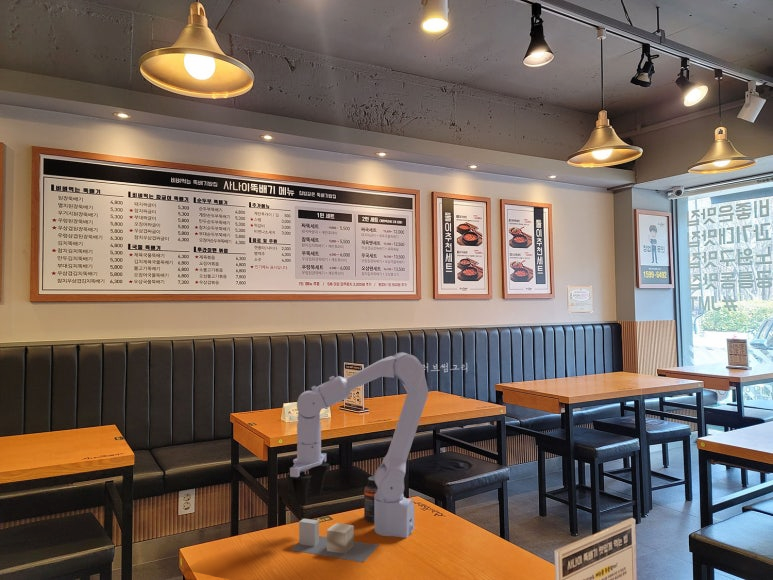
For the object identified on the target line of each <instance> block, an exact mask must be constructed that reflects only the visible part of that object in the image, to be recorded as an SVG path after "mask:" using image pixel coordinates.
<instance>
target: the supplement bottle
mask: <svg viewBox="0 0 773 580" xmlns="http://www.w3.org/2000/svg"><path fill="white" fill-rule="evenodd" d="M377 489H378V487H377V485H376V484H375V481H374V475H372V476H369V477H367V485H365V487H364V491H363V492H364V493H363V494H364V496H363V498H364V499H363V500H364V501H363V505H364V506H363V507H364V508H363V511H364V512H363V513H364V514H363V515H364V519H363V520H364V521H366V522H368V523H374V495H375V493H376V492H377ZM374 524H375V523H374Z"/></svg>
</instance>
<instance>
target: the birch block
mask: <svg viewBox="0 0 773 580" xmlns="http://www.w3.org/2000/svg"><path fill="white" fill-rule="evenodd" d="M354 530H355V526H354V525H352V524H345V523H340V522H336V523H334V524H333V525H332V526H330V527H328V528H327V529H326V537H327V551H329V552H336V553H342V554H346V553H347V552H348V551H349V550H350V549H351V548H352V547H353V546H354V540H355V535H354V534H355V533H354V532H355V531H354Z"/></svg>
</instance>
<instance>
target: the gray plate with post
mask: <svg viewBox="0 0 773 580" xmlns="http://www.w3.org/2000/svg"><path fill="white" fill-rule="evenodd" d="M319 521H320V520H316V519H310V518H302V519H301V520H299V522H298V523H299V525H298V529H299V531H298V532H299V534H298V536H299V537H298V538H299V539H298V541H299V542H297V543H296V544H295V545H293V546H292V547H291V548H289V551H293V552H298V553H305V554H310V555H311V554H312V555H316V556H324V557H329V558H335V559H340V560H345V561H353V562H359V563H364V562H365V561H366V560H367V559H368V558H369V557H370V556H371V555H372V553H374V552H375V550H376V549H377V548H378V547H379V546H380V544H373V543H367V542H360V541H354V546H353V547H352V548H351V549H350V550H349V551H348V552H347V553H346V554H342V553H336V552H329V551H327V536H321V535H320V522H319Z"/></svg>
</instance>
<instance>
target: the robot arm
mask: <svg viewBox="0 0 773 580" xmlns="http://www.w3.org/2000/svg"><path fill="white" fill-rule="evenodd" d="M381 377H382V378H383V377H384V378H393V379H394V378H395V377H396V378H397V379H398V380H399V381H400V382H401V384H402V386H403V388H404V389H405V391H406V396H405V399H404V402H403V405H402V407H401V411H400V415H399V416H398V417H399V418H398V420H397V423H396V426H395V430H394V432H393V436H392V439H391V440H390V441H391V442H390V444H389V447H388V450H387V453H386V455H385V456H384V457H383V459H382V462H381V464H380V465H379V467H378V468H377V469H376V470H375V472H374V474H373V476H374V481H375V484H376V485H377V487H378V489H377V492H376V493H375V495H374V533H375V534H377V535H379V536H385V537H399V538H404V539H407V538H408V537H409V536H410V535H411V534H412V533H413V531H414V530H415V504H414V501H413V499H410V498H406V496H404V491H405V476H406V472H407V470H406V469H407V461H408V457H409V454H410V451H411V447H412V444H413V441H414V438H415V436H416V433H417V429H418V427H419V423H420V420H421V418H422V414H423V411H424V408H425V404H426V403H427V400H428V396H429V388H428V384H427V380H426V374H425V368H424V366H423V364H422V363H421V362H420V360H419V359H418V358H417V356H415V355H413V354H409V353H407V352H403V351H402V352H397V353H395V354H394V355H390V356H386V357H384V358H382V359H379V360H377V361H376V362H374V363H371V364H370V365H368V366H366V367H364V368H363V369H360V370H358V371H356V372H355V373H353V374H351V375H350V376H347V377H343V376H340V375H337V376H336V377H335V376H334V375H332V376H330V377H329V378H328V379H329V380H328V381H326V382H323V383H321V384H320V385H318V386H316V385H313V386H311V390H305V391H303V392H302V393H300V394H299V396H298V398H297V402H296V409H297V412H298V414H297V423H296V445H297V446H296V452H297V453H296V458H294V459H293V460H292V462H293V466H291V467H289V473H287V475H286V480H287V481H288V482H289V485H291V488H292V491H293V495H294V499H295V503H296V505H297V506H302V507H303V506H306V505H307V501H308V492H309V491H308V490H309V485H310V490H311V494H312V495H315V496H321V495H322V491H323V487H324V483H325V478H326V476H327V474H328V471H329V469H330V467H331V466H330V465H331V464H330V463H326V462H327V453H325V452H324V453H322V422H321V419H320V418H321V416H320V414H321V411H322V409H328V408H329V407H332V406H334V405H336V404H338V403H340V402H341V401H345V400H346V399H348V398H349V397H350V395H351V393H352V390H354V389H356V388H359V387H361V386H363V385H365V384H368V383H369V382H372V381H375V380H377V379H379V378H381ZM307 471H308V474H309V475H308V474H307V475H306V473H305V472H307Z"/></svg>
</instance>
